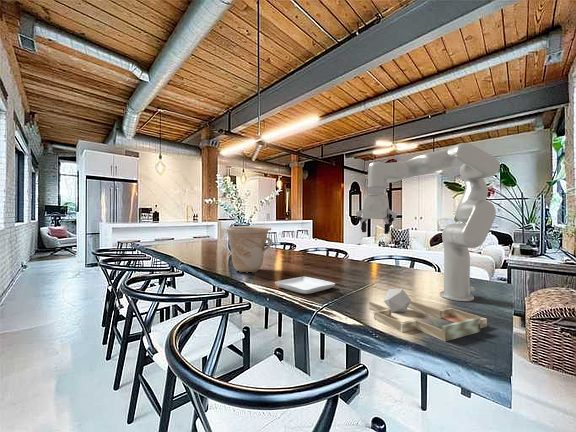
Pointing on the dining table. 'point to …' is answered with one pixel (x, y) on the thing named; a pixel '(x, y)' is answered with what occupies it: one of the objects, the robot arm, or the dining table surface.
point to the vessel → (248, 246)
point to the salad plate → (305, 285)
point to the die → (397, 300)
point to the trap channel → (459, 328)
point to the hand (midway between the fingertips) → (374, 232)
